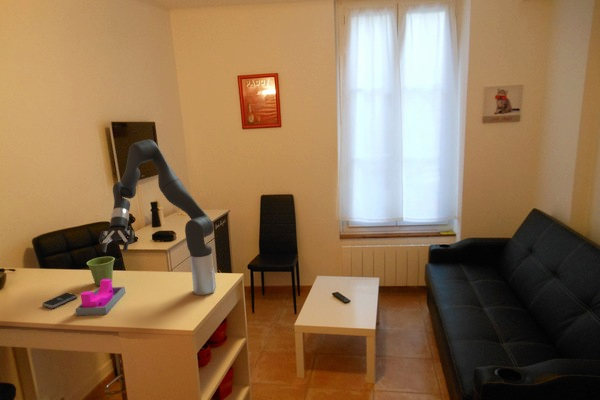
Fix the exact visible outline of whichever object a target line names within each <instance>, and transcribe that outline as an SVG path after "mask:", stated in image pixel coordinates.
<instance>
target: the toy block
mask: <svg viewBox="0 0 600 400" xmlns="http://www.w3.org/2000/svg"><path fill="white" fill-rule="evenodd" d="M112 282H113V280H112V281H111V279H103V280H101V281H100V286H99V287H98V288H99V291H98V293H97V294H96V295H95V294H94V291H88V290H87V291H83V292H82V293H80V300H81V303H82V307H83V308H88V307H104V306H105V305H106V304H107V303H108V302H109V301H110V300H111V299H112V296H113V288H112V287H113V283H112Z"/></svg>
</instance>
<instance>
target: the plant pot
mask: <svg viewBox="0 0 600 400" xmlns="http://www.w3.org/2000/svg"><path fill="white" fill-rule="evenodd" d="M115 259H116V257H113V256H101V257H96V258H92V259H90V260H88V261H87V262H86V265H87V266H88V268H89V270H90V273H91V275H92V278H93V282H94V284H95V286H96V287H97V286H99V287H100V281H101V280H103V279H111V281H112V282H113V273H114V270H113V269H114V263H115Z"/></svg>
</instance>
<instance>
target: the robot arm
mask: <svg viewBox="0 0 600 400" xmlns="http://www.w3.org/2000/svg"><path fill="white" fill-rule="evenodd" d="M151 161H152V162H153V164H154V166H155V167H156V169H157V180H158V181H157V182H158V183H157V184H158V188H159V190H160V192H161V193H162V194H163V196H164V198H165V199H166V200H167V201H168V202H169V203H170V204H171V205H173V206H175V207H176V208H178V209H180V210H182V211H183V212H184V213H186V215H187V216H188V217H189V218H190V220H188V221H187V222H186V224H185V228H184V232H185V233H184V234H185V239H186V244H187V245H186V246H187V247H186V248H187V249H188V251H189V254H190V256H189V257H190V267H191V276H192V277H191V278H192V287H193V288H192V289H193V293H194V295H197V296H203V295H204V296H205V295H210V294H214V293H215V291H216V288H217V285H216V284H217V283H216V272H215V270H216V269H215V267H214V261H213V250H212V249H213V248H212V246H211V245H210V244H207V243H205V238H206V237H209V236H211V235H212V234H213V233H214V231H215V227H214V223H213V221H212V219H211V218H210V217H209V216H208V214H207V213H206V212H205V211H204V210H203V209H202V208H201V206H200V205H199V204H198V203H197V202H196V200H195V199H194V198H193V196H192V195H191V194H190V192H189V191H188V190H187V188H186V187H185V185H184V183H183V182H182V181H181V180H180V178H179V177H178V176H177V174H176V172H175V171H174V170H173V169H172V168H171V166H170V164H169V163H168V161H167V160H166V158H165V156H164V154H163V152H162V151H161V149H160V147H159V146H158V145H157V142H155V141H154V140H153V139H144V140H140V141H136V142H133V143H132V144H131V145H130V147H129V149H128V153H127V160H126V166H125V171H124V172H123V175H122V177H121V179H120V181H117V182H115V183H114V184H113V187H112V195H113V201H114V202H113V209H112V212H111V216H110V223H109V228H108V230H103V229H102V230H101V231H100V233H99V238H98V242H99V244H100V245H101V246H102V247H101V251H102V252H103V253H107V248H108V244H109V243H111V242H112V241H121V240H123V246H122V251H123V252H124V253H126V252H127V251H128V248H129V244H133V243H134V235H135V232H134V229H132V228H131V229H128V225H129V220H130V209H131V202H130V199H134V198H135V196H136V194H137V184H138V182H139V180H140V178H141V171H140V169H139V166H140V165H141V164H144V163H147V162H151ZM128 199H129V200H128ZM127 234H128V236H129V237H128V239H127V238H126V236H127Z"/></svg>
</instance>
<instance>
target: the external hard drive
mask: <svg viewBox="0 0 600 400" xmlns="http://www.w3.org/2000/svg"><path fill="white" fill-rule="evenodd" d="M75 300H77V294H75V293H70V292H64V293H62V294H60V295H58V296H56V297H53V298H51V299H49V300H46V301H44V302H43V301H42V307H44V308H47V309H51V310H55V309H57V308H59V307H62V306H64V305H66V304H68V303H71V302H72V301H75Z"/></svg>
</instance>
